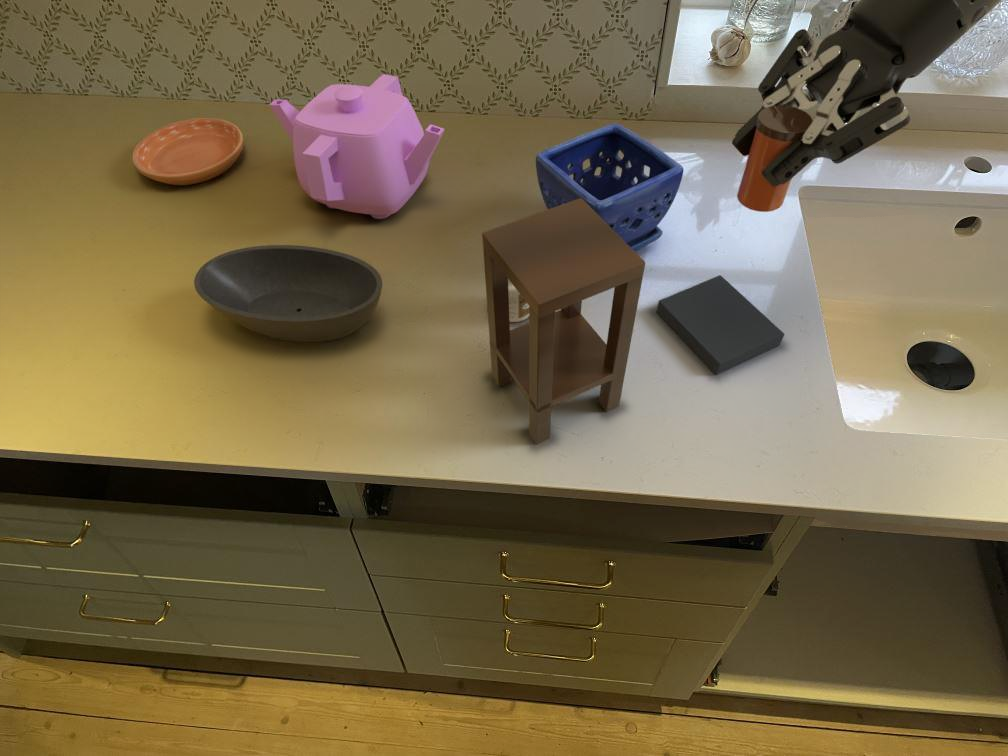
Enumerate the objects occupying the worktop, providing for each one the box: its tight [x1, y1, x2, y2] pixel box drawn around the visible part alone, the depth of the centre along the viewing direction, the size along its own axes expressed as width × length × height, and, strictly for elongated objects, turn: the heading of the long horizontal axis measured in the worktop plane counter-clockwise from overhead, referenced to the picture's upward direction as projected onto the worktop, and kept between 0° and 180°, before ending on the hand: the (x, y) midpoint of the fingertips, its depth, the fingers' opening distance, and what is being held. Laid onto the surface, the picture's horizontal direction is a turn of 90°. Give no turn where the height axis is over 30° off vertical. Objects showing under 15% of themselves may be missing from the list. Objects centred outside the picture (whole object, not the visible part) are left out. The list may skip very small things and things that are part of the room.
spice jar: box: [736, 105, 814, 213], centre depth 58 cm, size 4×4×8 cm
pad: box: [656, 274, 785, 376], centre depth 74 cm, size 11×9×2 cm
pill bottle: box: [508, 279, 529, 323], centre depth 75 cm, size 4×4×8 cm
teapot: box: [268, 73, 445, 220], centre depth 88 cm, size 19×18×15 cm
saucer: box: [131, 117, 245, 186], centre depth 99 cm, size 16×16×3 cm
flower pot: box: [535, 122, 684, 252], centre depth 81 cm, size 13×13×12 cm
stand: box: [481, 198, 646, 445], centre depth 62 cm, size 10×10×20 cm
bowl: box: [193, 244, 383, 343], centre depth 75 cm, size 12×22×6 cm, turn 79°
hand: (753, 164), depth 57 cm, fingers closed on spice jar, 4 cm apart
